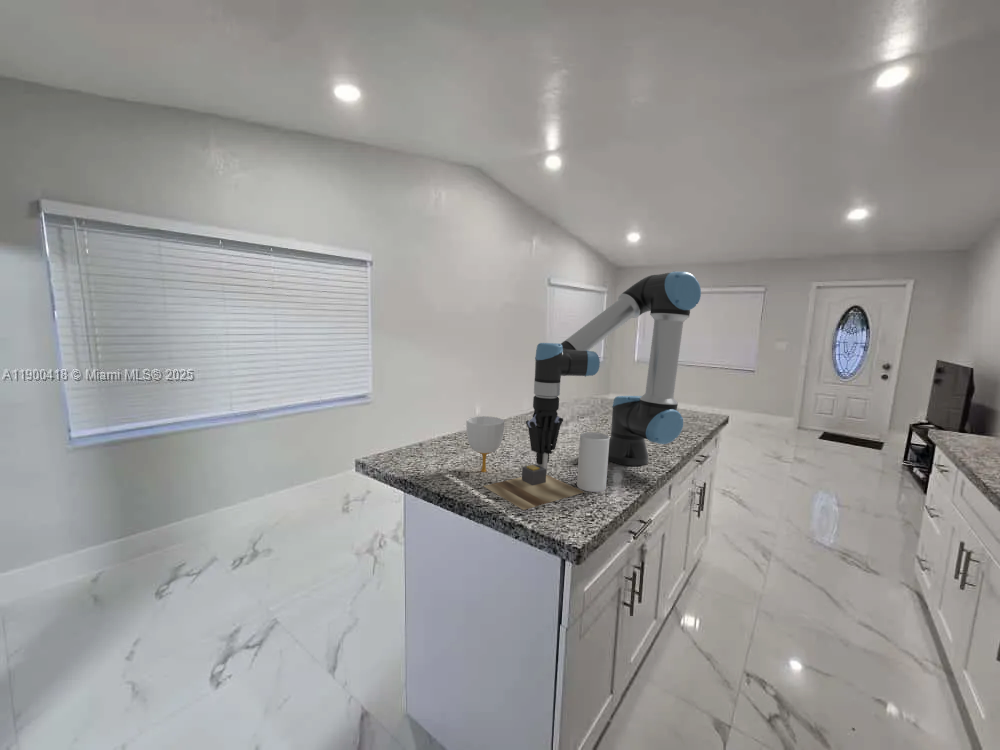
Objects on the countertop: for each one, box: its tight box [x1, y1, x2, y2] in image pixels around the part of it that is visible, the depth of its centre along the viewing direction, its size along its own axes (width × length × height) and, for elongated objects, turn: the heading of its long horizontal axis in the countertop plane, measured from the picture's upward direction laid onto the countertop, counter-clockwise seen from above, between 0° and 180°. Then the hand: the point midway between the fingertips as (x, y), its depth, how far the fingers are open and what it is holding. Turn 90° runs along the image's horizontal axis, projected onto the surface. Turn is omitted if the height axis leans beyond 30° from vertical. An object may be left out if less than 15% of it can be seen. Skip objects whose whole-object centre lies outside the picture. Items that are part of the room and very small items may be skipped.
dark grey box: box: [521, 463, 546, 485], centre depth 124 cm, size 5×5×4 cm
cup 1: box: [465, 415, 505, 473], centre depth 130 cm, size 12×12×17 cm
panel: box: [483, 474, 585, 511], centre depth 118 cm, size 22×18×1 cm
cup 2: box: [576, 431, 610, 493], centre depth 121 cm, size 8×8×16 cm
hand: (541, 473), depth 126 cm, fingers closed
